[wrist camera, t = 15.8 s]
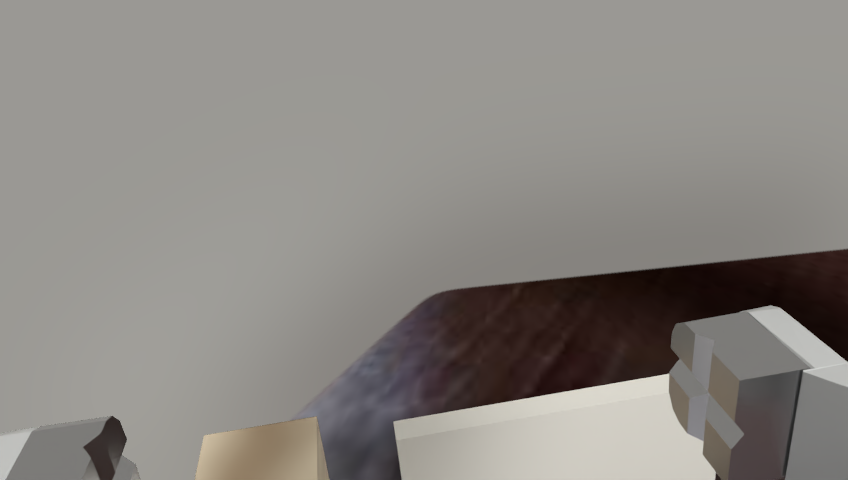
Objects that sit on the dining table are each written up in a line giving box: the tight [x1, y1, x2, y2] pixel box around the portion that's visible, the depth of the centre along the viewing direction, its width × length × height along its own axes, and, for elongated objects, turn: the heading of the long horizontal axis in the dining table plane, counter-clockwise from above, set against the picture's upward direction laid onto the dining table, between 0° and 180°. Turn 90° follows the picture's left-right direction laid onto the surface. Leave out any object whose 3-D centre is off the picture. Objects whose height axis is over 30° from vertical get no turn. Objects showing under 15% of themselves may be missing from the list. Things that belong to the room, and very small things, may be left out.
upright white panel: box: [393, 374, 716, 480], centre depth 40 cm, size 18×2×10 cm, turn 99°
